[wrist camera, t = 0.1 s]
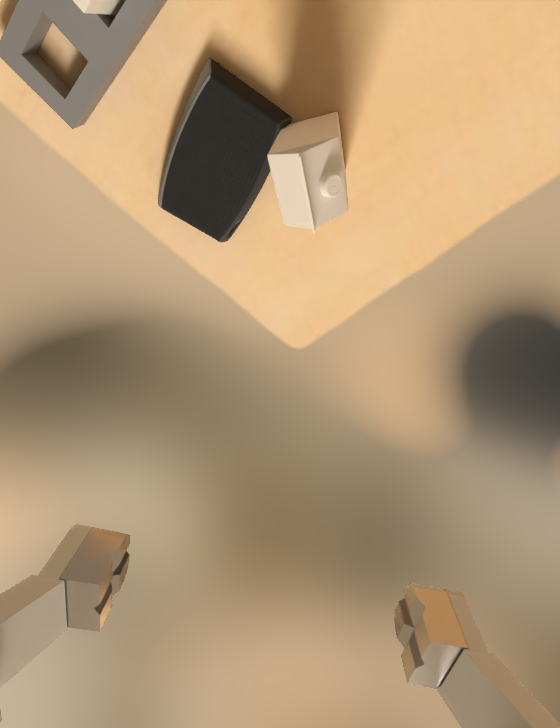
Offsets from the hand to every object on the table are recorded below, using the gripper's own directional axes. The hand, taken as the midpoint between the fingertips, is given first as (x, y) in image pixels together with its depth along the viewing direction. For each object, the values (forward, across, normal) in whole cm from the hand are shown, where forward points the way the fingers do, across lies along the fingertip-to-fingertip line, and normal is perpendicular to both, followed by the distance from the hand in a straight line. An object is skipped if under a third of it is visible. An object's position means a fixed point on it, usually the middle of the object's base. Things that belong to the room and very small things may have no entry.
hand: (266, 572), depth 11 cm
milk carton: (+50, 0, -17) cm, 52 cm away
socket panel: (+47, +29, -24) cm, 60 cm away
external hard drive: (+51, +13, -13) cm, 54 cm away
